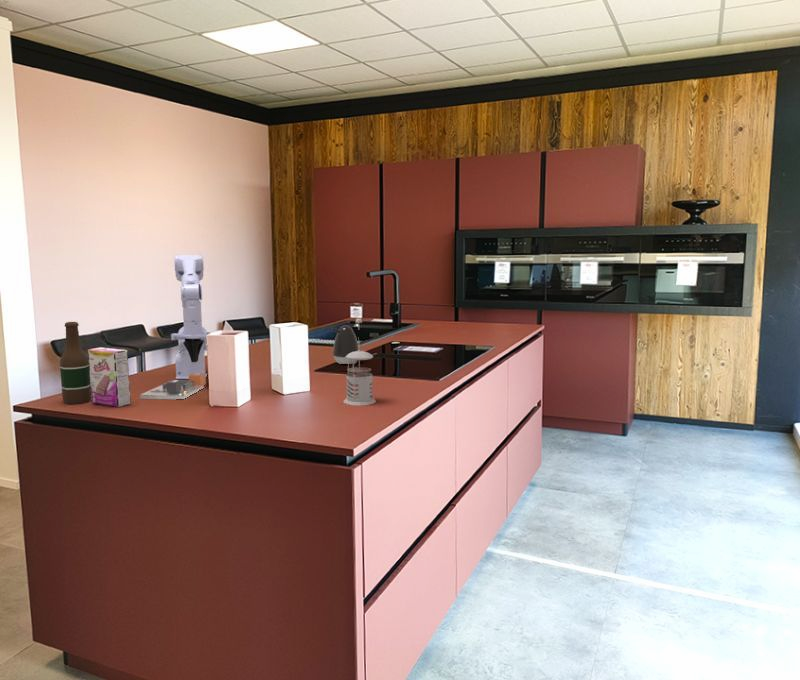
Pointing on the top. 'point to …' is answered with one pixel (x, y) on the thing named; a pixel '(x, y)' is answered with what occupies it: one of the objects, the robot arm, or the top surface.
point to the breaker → (173, 386)
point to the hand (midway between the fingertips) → (194, 361)
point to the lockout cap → (198, 378)
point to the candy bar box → (109, 376)
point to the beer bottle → (74, 369)
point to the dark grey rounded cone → (344, 344)
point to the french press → (359, 379)
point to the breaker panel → (161, 393)
